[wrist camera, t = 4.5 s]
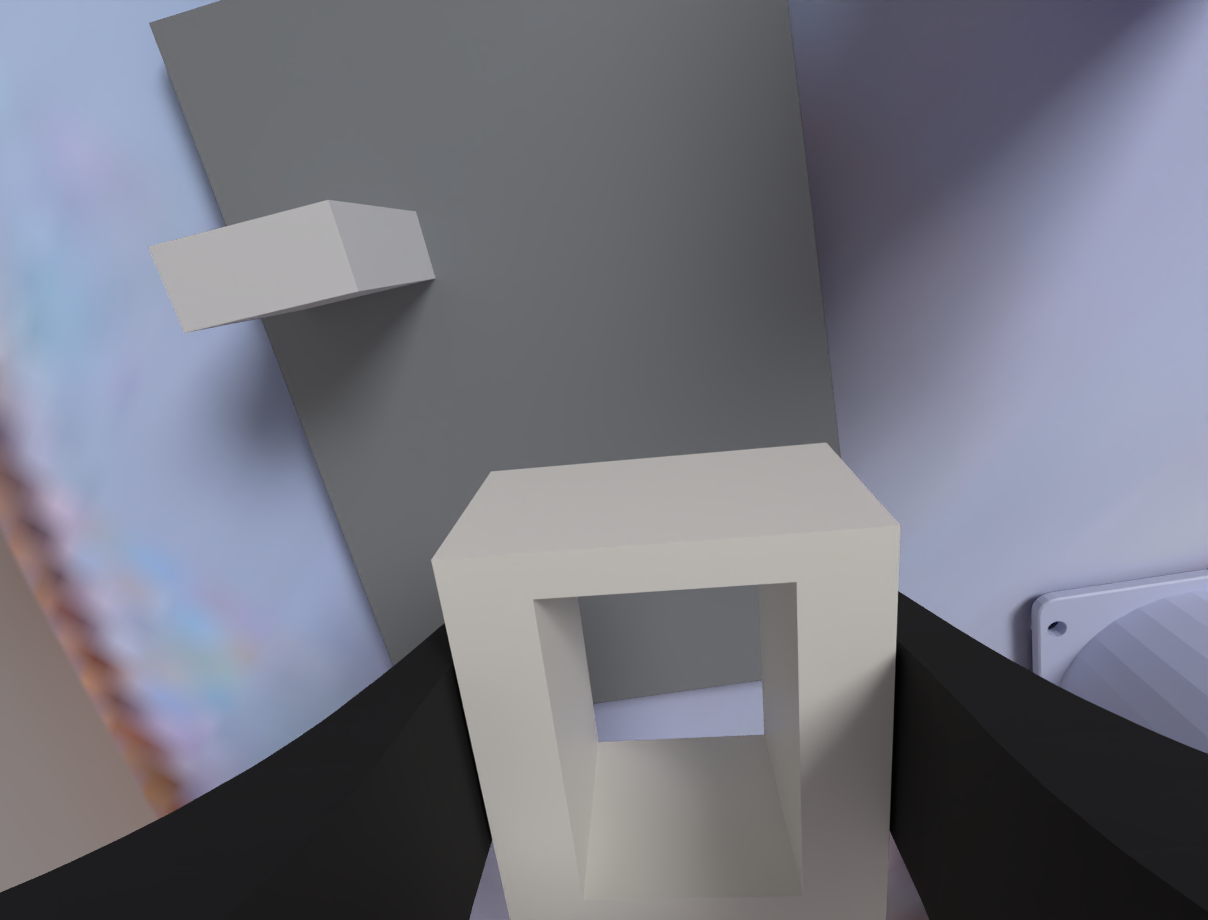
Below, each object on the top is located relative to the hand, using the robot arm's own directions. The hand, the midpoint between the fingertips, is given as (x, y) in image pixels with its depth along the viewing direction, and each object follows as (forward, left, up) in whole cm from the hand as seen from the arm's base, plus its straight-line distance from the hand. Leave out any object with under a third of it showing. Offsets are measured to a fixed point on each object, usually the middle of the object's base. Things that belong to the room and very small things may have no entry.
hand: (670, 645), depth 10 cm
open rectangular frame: (0, 0, -1) cm, 1 cm away
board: (+3, +2, -9) cm, 9 cm away
